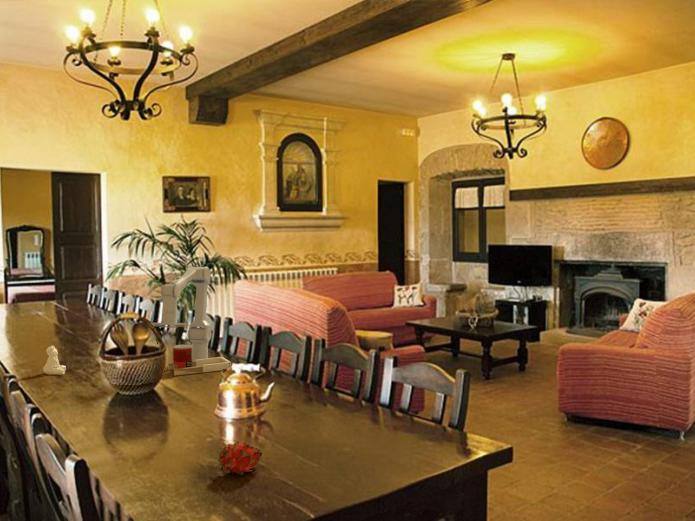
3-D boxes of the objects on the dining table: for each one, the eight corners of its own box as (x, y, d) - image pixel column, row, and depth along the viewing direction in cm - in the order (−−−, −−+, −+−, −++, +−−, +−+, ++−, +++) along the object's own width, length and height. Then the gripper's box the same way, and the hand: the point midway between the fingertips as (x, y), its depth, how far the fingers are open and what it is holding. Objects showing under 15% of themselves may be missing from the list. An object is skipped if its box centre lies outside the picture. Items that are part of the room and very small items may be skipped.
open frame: (195, 366, 269) (195, 359, 269) (222, 363, 275) (222, 356, 275) (203, 372, 258) (202, 365, 257) (231, 369, 264) (231, 362, 263)
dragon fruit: (214, 483, 149) (258, 479, 155) (227, 472, 143) (272, 468, 150) (210, 449, 153) (253, 446, 160) (222, 437, 148) (266, 435, 154)
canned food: (189, 373, 256) (189, 347, 255) (171, 373, 256) (170, 347, 256) (194, 369, 264) (194, 344, 263) (176, 369, 264) (176, 344, 263)
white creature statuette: (64, 374, 255) (63, 346, 254) (42, 376, 251) (41, 348, 251) (66, 369, 263) (65, 342, 263) (44, 371, 260) (43, 344, 260)
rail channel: (167, 369, 263) (167, 363, 263) (195, 366, 269) (195, 360, 269) (174, 375, 252) (174, 369, 252) (203, 372, 258) (202, 366, 257)
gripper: (153, 312, 247) (151, 345, 245) (189, 313, 254) (187, 345, 252) (150, 312, 253) (148, 344, 251) (184, 312, 260) (183, 344, 259)
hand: (167, 344), depth 252 cm, fingers open, 7 cm apart
